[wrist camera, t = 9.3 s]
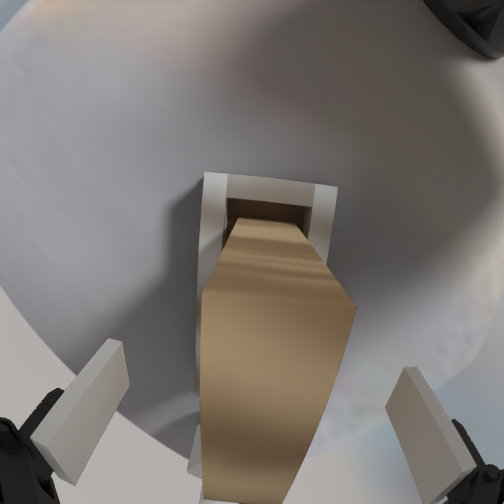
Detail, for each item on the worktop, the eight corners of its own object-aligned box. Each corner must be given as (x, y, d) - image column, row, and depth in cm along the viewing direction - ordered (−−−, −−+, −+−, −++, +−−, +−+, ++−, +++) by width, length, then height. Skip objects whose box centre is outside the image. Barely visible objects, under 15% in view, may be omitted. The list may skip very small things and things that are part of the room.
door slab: (239, 216, 21) (202, 293, 7) (294, 222, 21) (356, 307, 7) (226, 356, 24) (203, 499, 10) (272, 360, 24) (281, 504, 10)
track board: (209, 172, 21) (200, 171, 17) (328, 185, 21) (341, 187, 17) (199, 371, 25) (192, 395, 22) (293, 380, 25) (297, 404, 22)
